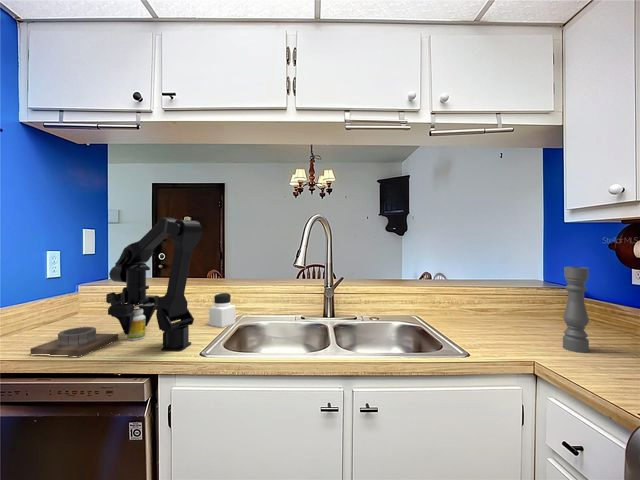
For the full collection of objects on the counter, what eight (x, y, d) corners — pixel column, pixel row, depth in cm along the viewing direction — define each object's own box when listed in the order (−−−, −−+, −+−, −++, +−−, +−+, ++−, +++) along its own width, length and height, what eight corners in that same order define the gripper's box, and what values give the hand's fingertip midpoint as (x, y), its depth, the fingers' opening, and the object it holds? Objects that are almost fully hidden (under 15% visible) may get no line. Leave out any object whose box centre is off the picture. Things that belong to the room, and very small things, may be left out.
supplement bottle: (127, 337, 106) (127, 308, 106) (145, 334, 109) (145, 307, 109) (126, 341, 102) (126, 312, 102) (145, 339, 104) (145, 310, 104)
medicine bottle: (235, 323, 124) (235, 293, 124) (221, 328, 118) (221, 296, 117) (223, 321, 127) (223, 291, 127) (208, 325, 121) (208, 294, 121)
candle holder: (563, 344, 101) (563, 266, 100) (588, 348, 97) (589, 267, 97) (562, 349, 96) (563, 267, 96) (589, 354, 92) (589, 268, 92)
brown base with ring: (118, 340, 103) (118, 324, 103) (79, 357, 88) (79, 339, 88) (75, 338, 105) (75, 323, 105) (30, 355, 90) (30, 338, 90)
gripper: (132, 279, 115) (132, 322, 115) (91, 287, 97) (91, 338, 97) (161, 280, 114) (161, 322, 114) (125, 288, 96) (125, 339, 96)
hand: (136, 330), depth 105 cm, fingers open, 9 cm apart
